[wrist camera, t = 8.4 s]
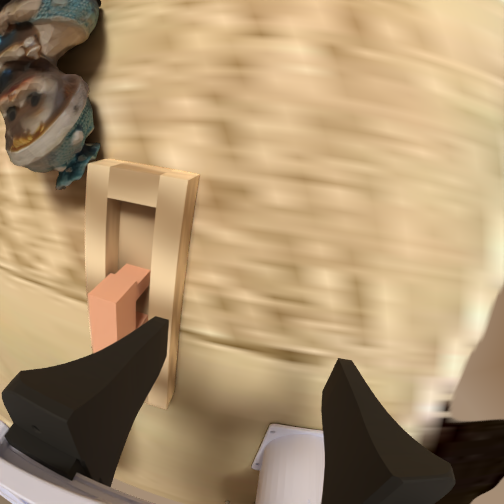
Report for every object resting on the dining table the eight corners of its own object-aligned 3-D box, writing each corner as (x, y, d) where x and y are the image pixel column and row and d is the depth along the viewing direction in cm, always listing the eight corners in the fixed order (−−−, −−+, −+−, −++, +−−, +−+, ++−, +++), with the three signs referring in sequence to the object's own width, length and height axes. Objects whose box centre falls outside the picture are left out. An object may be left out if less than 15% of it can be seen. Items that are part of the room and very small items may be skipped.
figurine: (88, -53, 10) (69, 189, 14) (115, 2, 18) (112, 182, 22) (-26, -7, 9) (-47, 212, 12) (23, 28, 17) (17, 197, 20)
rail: (174, 391, 28) (166, 410, 26) (108, 369, 28) (97, 385, 26) (199, 174, 20) (188, 180, 18) (107, 158, 21) (87, 163, 18)
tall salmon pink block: (147, 330, 25) (119, 374, 20) (125, 323, 25) (95, 364, 20) (150, 265, 23) (116, 303, 18) (126, 258, 23) (87, 293, 18)
